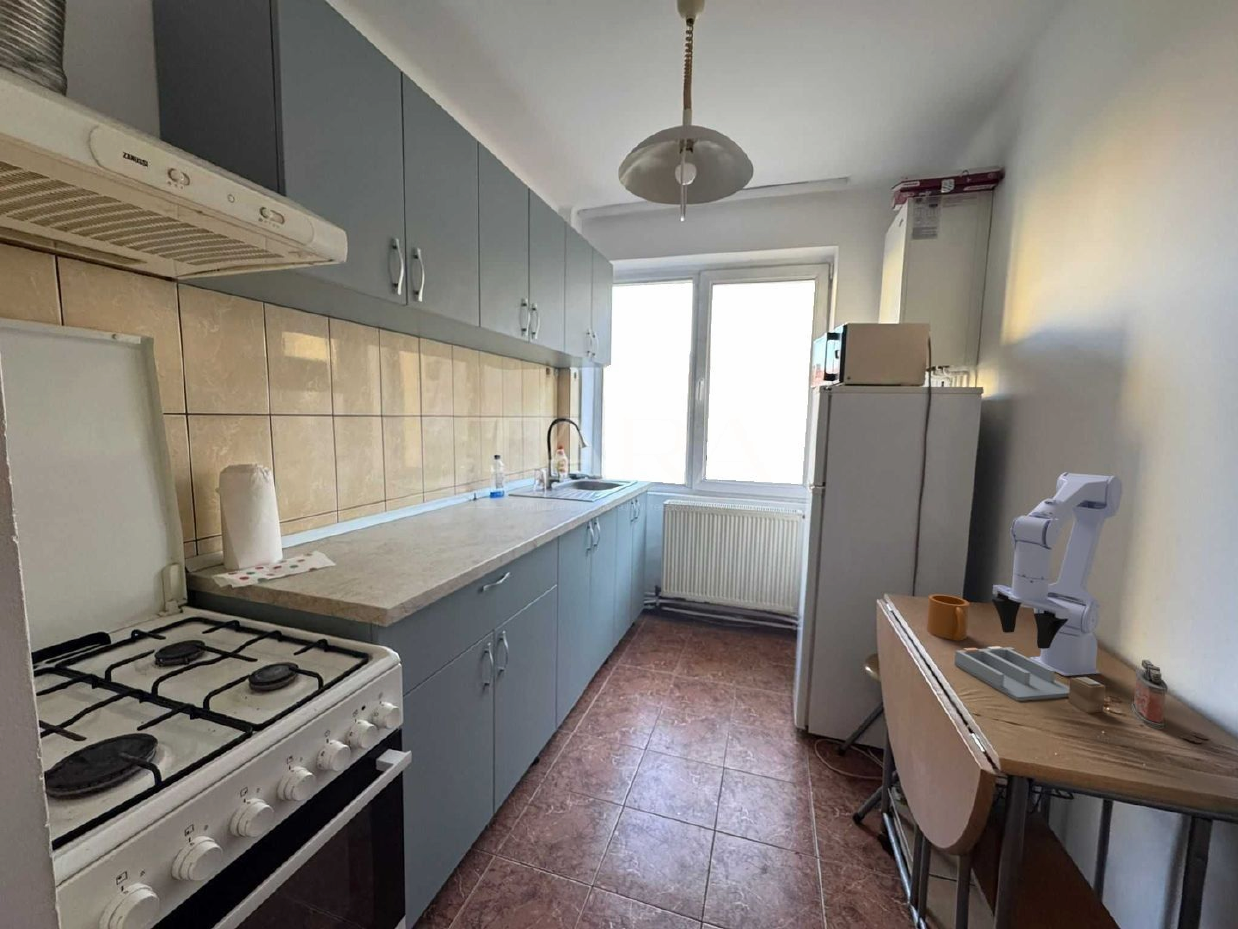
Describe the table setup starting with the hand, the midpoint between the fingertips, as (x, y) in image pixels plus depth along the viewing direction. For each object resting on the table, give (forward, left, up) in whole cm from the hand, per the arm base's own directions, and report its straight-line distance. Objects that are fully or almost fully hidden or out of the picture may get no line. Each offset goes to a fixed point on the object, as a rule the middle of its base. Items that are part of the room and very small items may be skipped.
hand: (1025, 639), depth 104 cm
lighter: (-13, +13, -10) cm, 21 cm away
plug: (-5, +8, -10) cm, 14 cm away
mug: (-5, -25, -10) cm, 27 cm away
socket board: (-1, -3, -10) cm, 10 cm away
